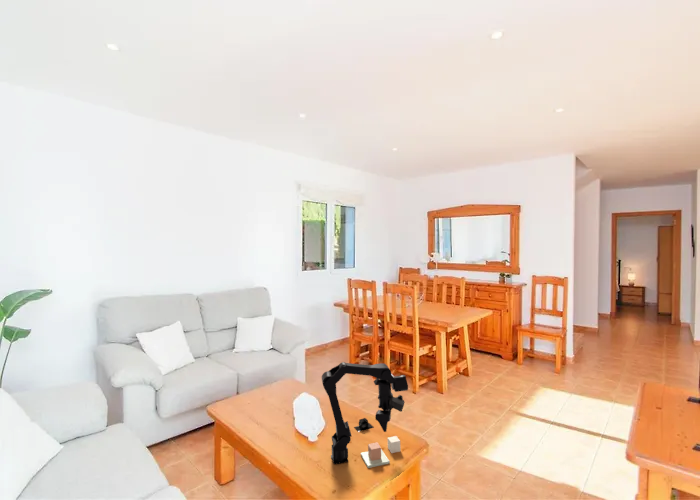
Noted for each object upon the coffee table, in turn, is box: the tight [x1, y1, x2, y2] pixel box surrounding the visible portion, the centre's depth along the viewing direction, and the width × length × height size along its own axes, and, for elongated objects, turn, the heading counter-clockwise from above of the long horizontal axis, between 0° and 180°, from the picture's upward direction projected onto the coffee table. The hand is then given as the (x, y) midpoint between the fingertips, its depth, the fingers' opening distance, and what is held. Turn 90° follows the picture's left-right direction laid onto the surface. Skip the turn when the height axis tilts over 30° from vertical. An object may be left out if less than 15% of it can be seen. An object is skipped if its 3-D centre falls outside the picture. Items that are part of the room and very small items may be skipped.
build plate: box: [360, 448, 391, 469], centre depth 163 cm, size 10×10×1 cm
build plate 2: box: [353, 417, 375, 433], centre depth 191 cm, size 12×7×5 cm, turn 117°
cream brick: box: [387, 435, 401, 454], centre depth 170 cm, size 4×4×5 cm
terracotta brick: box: [367, 441, 382, 461], centre depth 163 cm, size 4×4×5 cm
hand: (386, 426), depth 166 cm, fingers open, 9 cm apart
